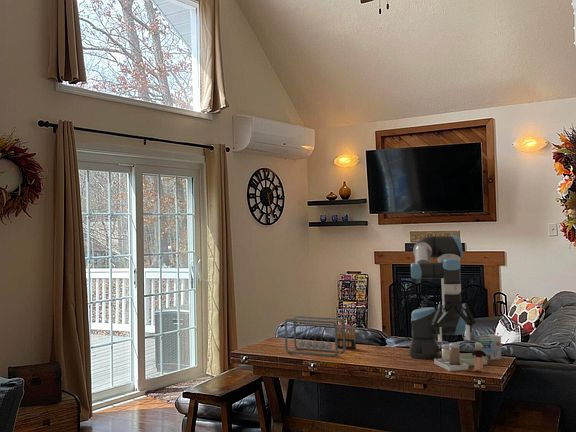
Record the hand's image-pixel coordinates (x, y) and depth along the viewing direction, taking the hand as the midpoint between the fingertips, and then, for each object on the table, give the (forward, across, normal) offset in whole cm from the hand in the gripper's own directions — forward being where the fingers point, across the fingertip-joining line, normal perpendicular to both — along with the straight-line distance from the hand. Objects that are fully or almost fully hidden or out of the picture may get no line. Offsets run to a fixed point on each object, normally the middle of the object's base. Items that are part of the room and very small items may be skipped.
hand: (454, 340), depth 284 cm
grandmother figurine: (+13, +8, -8) cm, 17 cm away
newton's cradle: (+12, -51, +55) cm, 76 cm away
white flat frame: (+12, 0, +4) cm, 13 cm away
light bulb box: (+12, +24, +14) cm, 31 cm away
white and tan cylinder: (+12, 0, 0) cm, 12 cm away
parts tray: (+12, +11, +8) cm, 19 cm away
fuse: (+12, 0, +8) cm, 15 cm away
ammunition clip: (+12, -33, +60) cm, 70 cm away
